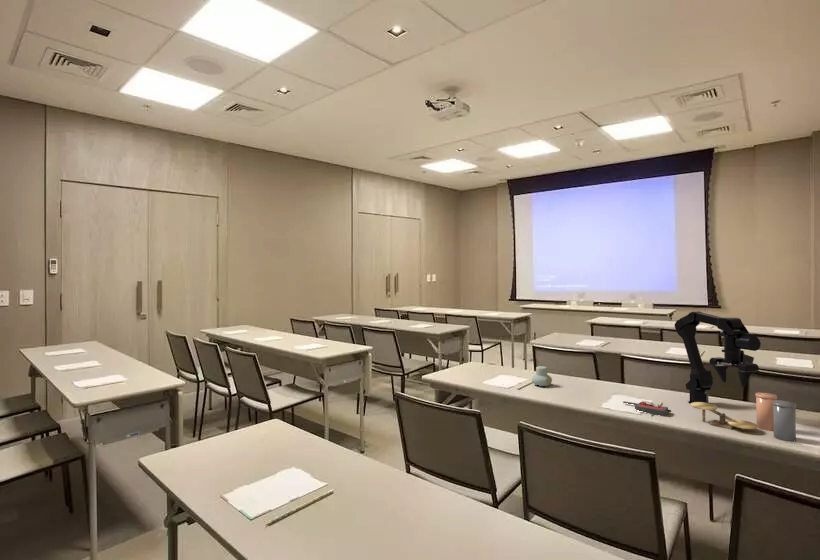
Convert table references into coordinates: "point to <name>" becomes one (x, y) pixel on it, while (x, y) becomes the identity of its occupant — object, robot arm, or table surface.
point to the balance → (722, 417)
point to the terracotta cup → (765, 411)
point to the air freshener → (541, 377)
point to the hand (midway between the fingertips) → (733, 384)
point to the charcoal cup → (784, 420)
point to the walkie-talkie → (650, 408)
